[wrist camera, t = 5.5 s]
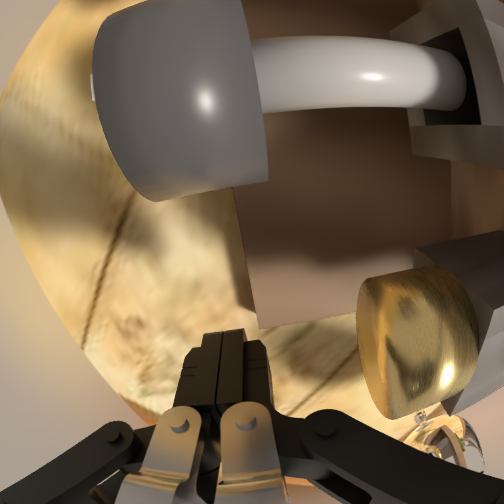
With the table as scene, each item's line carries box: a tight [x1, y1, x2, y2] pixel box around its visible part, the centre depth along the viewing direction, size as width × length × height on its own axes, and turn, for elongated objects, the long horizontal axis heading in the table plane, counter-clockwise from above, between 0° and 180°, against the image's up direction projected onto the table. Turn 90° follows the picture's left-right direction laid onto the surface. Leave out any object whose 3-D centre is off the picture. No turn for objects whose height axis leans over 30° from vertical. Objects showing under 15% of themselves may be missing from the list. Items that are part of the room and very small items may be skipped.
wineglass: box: [404, 409, 485, 474], centre depth 14 cm, size 6×6×12 cm
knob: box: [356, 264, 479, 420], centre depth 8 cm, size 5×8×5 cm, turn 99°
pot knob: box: [90, 0, 466, 202], centre depth 5 cm, size 5×8×5 cm, turn 99°
